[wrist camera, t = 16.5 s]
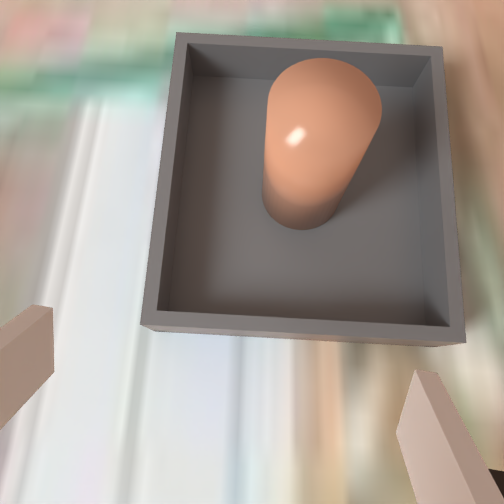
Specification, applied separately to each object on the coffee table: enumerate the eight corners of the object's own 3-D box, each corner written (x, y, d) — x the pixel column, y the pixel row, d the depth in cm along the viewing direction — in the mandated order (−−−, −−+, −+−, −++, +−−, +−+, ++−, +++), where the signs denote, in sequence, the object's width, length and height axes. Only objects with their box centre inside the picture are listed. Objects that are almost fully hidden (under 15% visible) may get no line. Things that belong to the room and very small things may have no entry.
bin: (418, 85, 40) (442, 46, 35) (434, 347, 33) (466, 342, 29) (184, 73, 40) (176, 32, 35) (155, 331, 34) (140, 324, 29)
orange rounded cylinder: (339, 161, 37) (381, 61, 25) (338, 232, 35) (382, 159, 23) (264, 156, 37) (270, 54, 25) (259, 227, 35) (264, 152, 23)
